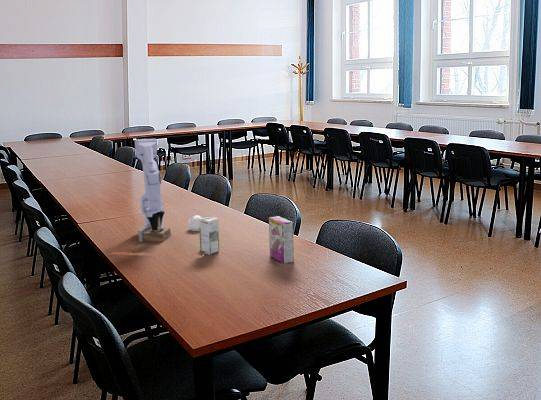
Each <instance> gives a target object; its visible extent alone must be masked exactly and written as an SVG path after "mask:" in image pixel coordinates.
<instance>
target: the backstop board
mask: <svg viewBox="0 0 541 400" xmlns="http://www.w3.org/2000/svg"><path fill="white" fill-rule="evenodd" d="M150 228H151V224H148V225H146V226H145V225H144V226H143V227H141V228H140V229H139V230H138V242H139V243H141V242H145V241H144V240H143V233H144V232H146V231H147V230H149V229H150Z"/></svg>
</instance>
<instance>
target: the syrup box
mask: <svg viewBox="0 0 541 400" xmlns="http://www.w3.org/2000/svg"><path fill="white" fill-rule="evenodd" d="M219 228H220V227H219V219H218V218H217V217H214V216H207V217H203V219H199V230H200V231H199V247H200V248H199V250H200V251H201V252H203V254H205V255H209V256H210V255H213V254H216V253H219V252H220V238H219V237H220V234H219V231H220V229H219Z"/></svg>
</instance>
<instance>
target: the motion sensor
mask: <svg viewBox="0 0 541 400" xmlns="http://www.w3.org/2000/svg"><path fill="white" fill-rule="evenodd" d="M203 218H204V217H203V216H201V215H199V214H198V215H197V214H196V215H193V216H192V217H190V218H189V220H188V221H187V225H188V228H189V230H190V231H193V232H200V230H199V219H203Z"/></svg>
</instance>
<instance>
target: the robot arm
mask: <svg viewBox="0 0 541 400" xmlns="http://www.w3.org/2000/svg"><path fill="white" fill-rule="evenodd" d="M157 142H158V141H157V138H145V139H144V138H143V139H135V140H134V148H135V156H136V158H137V159H139V160H140V162H141V164H142V172H143V181H144V189H145V190H144V191H145V193H144V194H143V195H141V197H140V199H139V200H140V211H141V213H142V214H144V223H145V225H144V227H145V226H146V225H148V224H151V228H152V230H157V229H158V220H159V217H160V226H161V228H164V215H165V210H164V205H163V199H162V193H161V190H162V189H161V185H162V175H161V172H160V170H159V167H158V163H157V162H156V161H155V160H154V159H155V158H156V157H157V153H158V143H157Z"/></svg>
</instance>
